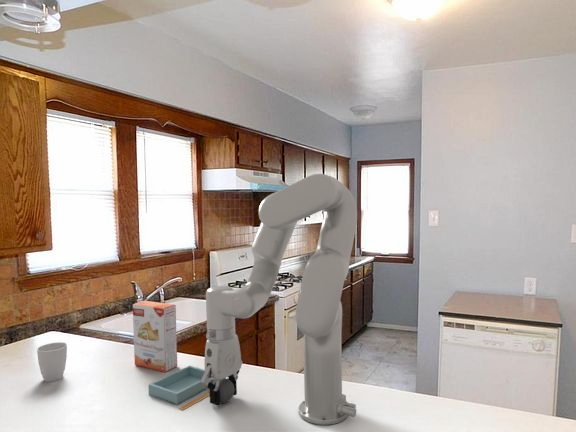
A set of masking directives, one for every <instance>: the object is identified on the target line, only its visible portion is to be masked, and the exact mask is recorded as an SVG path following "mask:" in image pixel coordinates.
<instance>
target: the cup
mask: <svg viewBox="0 0 576 432" xmlns="http://www.w3.org/2000/svg"><path fill="white" fill-rule="evenodd" d="M36 351H37V353H36V354H37V362H38V366H39V370H40V374H41V376H42V379H43V381H44V382H48V383H51V381H52V382H56V381H59V380H61V379H62V378H64V377H63V376H64V374H65V370H66V365H67V364H66V363H67V357H68V355H67V354H68V353H67V352H68V344H67V343H66V342H61V341H60V342H59V341H58V342H51V343H46V344H42V345H41V346H38V347H37V348H36Z"/></svg>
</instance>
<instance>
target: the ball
mask: <svg viewBox="0 0 576 432" xmlns="http://www.w3.org/2000/svg"><path fill="white" fill-rule="evenodd" d="M218 390H220V403H227V402H229V401H230V400H231V399H232V398H233V397H234V396H235V395H234V391H235V389H234V385H233V383H232V382H231V381H230V380H229V379H227V378H225V379H223V380H220V382H219V387H218Z"/></svg>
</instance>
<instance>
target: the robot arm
mask: <svg viewBox="0 0 576 432" xmlns="http://www.w3.org/2000/svg"><path fill="white" fill-rule="evenodd" d="M356 203H357V202H356V200H355V197H354V195H353V194H352V193H351V191H350V190H349V188H348V187H347V186H345V185H344V184H343V183H342V182H341V181H339V180H338V179H337V178H335V177H333V176H332V175H327V174H324V173H314V174H311V175H308V176H306V177H304V178H302V179H300V180H298V181H296V182H294V183H292V184H290V185H287V186H285V187H284V188H281V189H280V190H277V191H275V192H273V193H270V194H269V195H267V196H266V197H265V198H264V199H263V200H262V201H261V203H260V205H259V206H258V218H259V220H260V225H259V228H258V230H257V233H256V235H255V237H254V239H253V242H252V244H251V252H252V255H253V266H252V269H251V272H250V275H249V277H248V278H247V279H248V280H247V282H246V284H245V285H244V286H242V287H241V288H238V289H235V290H234V288H233V287H232V286H228V285H216V286H211V287H209V288H208V289H207V290H206V292H205V307H206V308H205V310H206V334H205V337H206V340H205V341H206V342H205V348H204V370H205V373H204V375H203V377H202V379H201V383H202V384H203V385H205V386H206V387H207V389H206V390H209V391H208V392H209V393H210V395H209V403H210V404H212V405H214V406H218V407H219V406H220V405H221V402H220V390H218V387H219V382H220V380H223V379H229V380H230V381H231V382H232V383H233V385H234V389H235V391H234V395H233V396H236V395H238V390H237V389H238V387H237V385H238V384H237V380H238V378H239V376H238V375H239V373H240V370H241V368H242V366H243V360H242V355H241V354H242V353H241V347H240V340H239V337H238V334H236V319H248V318H250V317H252V316H254V314H256V313H257V312H258V311H260V310H261V308H264V306H265V305H266V303H267V302H268V300H269V298H270V296H271V294H272V291H273V290H274V289H273V288H274V286H275V284H276V281H277V278H278V275H279V272H280V269H281V266H282V261H283V257H284V254H285V252H286V249H287V247H288V245H289V242H290V241H291V238H292V235H293V233H294V230H295V229H296V225H297V223H298V222H299V221H301V220H303V219H306V218H308V217H310V216H312V215H315V214H317V213H319V212H322V213H323V218H322V221H321V222H322V223H321V226H320V231H319V237H318V242H317V246H316V250H315V253H313V254H312V255H311V256H310V257H309V258H308V260H307V261H306V264H305V267H304V269H303V273H302V278H301V283H300V286H299V287H300V288H299V293H298V297H297V303H296V307H295V313H294V314H295V315H294V317H295V323H296V325H297V327H298V329H299V331H300V332H301V333H302V334H303V372H304V373H303V379H304V380H303V381H304V382H303V383H304V386H303V388H304V390H303V391H304V400H303V401H302V402H300V404H299V406H298V414H299V416H300V417H301V418H302V419H303V420H304V421H306V422H308V423H311V424H314V425H315V424H316V425H322V426H327V425H334V424H338V423H340V422H343V421H344V420H346V419H347V417H348V416H349V417H352V418H355V417H356V416H357V409H356V407H357V404H355V403H352V402H351V403H350V402H348V401H347V395H346V394H343V369H342V367H343V366H342V360H343V359H342V357H343V356H342V352H343V351H342V327H343V306H342V301H341V297H342V293H343V288H344V284H345V280H346V278H347V277H348V274H349V271H350V270H349V269H350V260H351V255H352V249H353V245H354V240H355V234H356V230H357V229H356V228H357V222H358V209H357V207H358V206H357V204H356ZM213 380H215V384H213Z"/></svg>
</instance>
